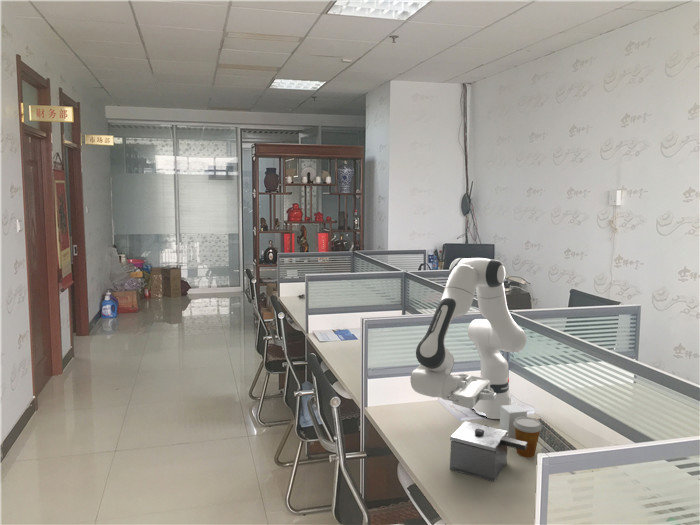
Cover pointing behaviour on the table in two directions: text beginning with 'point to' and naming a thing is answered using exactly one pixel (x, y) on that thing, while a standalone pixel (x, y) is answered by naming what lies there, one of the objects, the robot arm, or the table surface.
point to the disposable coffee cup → (527, 435)
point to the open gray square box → (477, 460)
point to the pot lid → (485, 437)
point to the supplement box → (510, 418)
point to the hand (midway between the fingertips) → (495, 396)
